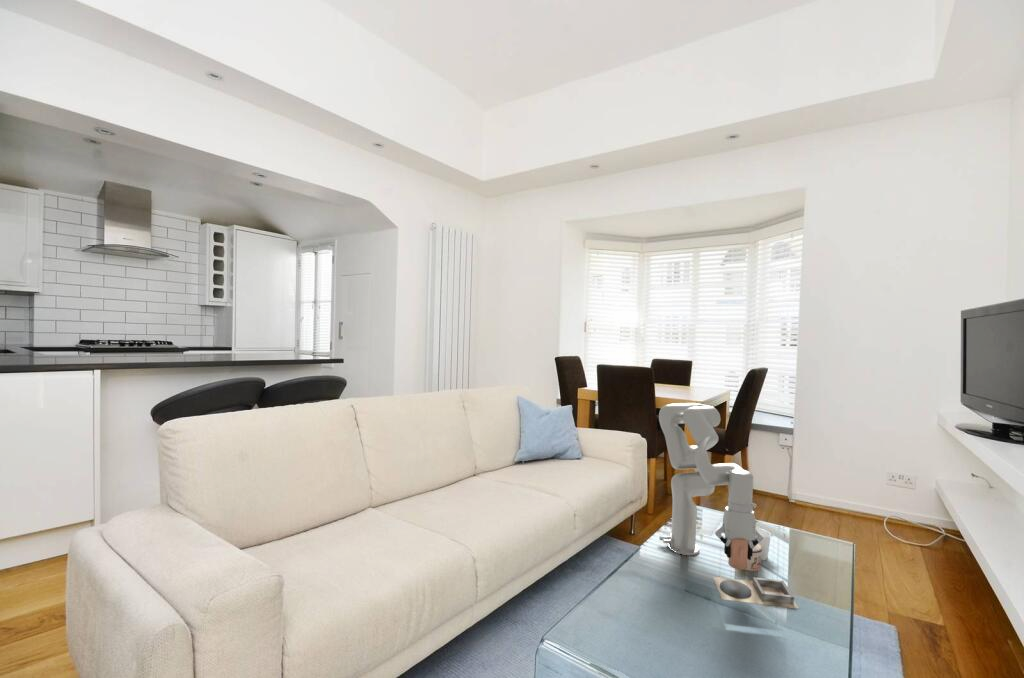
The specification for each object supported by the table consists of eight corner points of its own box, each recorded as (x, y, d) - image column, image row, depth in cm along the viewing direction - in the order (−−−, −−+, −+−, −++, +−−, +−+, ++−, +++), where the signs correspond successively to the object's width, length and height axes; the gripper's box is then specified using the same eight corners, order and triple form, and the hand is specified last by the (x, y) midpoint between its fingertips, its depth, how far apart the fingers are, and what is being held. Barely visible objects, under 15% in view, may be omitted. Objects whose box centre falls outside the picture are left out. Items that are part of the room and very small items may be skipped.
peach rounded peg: (726, 560, 172) (727, 532, 172) (744, 561, 171) (745, 534, 171) (732, 571, 165) (733, 542, 164) (751, 573, 164) (752, 544, 163)
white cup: (764, 551, 199) (765, 528, 198) (772, 562, 191) (774, 537, 191) (744, 550, 200) (745, 527, 199) (751, 560, 192) (753, 536, 191)
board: (721, 602, 164) (722, 592, 164) (712, 579, 178) (713, 570, 178) (799, 612, 160) (799, 601, 160) (783, 587, 174) (784, 577, 173)
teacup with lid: (755, 576, 180) (757, 546, 180) (730, 567, 187) (732, 537, 186) (767, 565, 189) (768, 536, 188) (742, 556, 195) (744, 528, 194)
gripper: (763, 504, 170) (761, 554, 171) (711, 500, 173) (709, 549, 174) (770, 512, 162) (768, 565, 163) (716, 508, 166) (714, 559, 166)
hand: (738, 556), depth 169 cm, fingers closed on peach rounded peg, 6 cm apart
